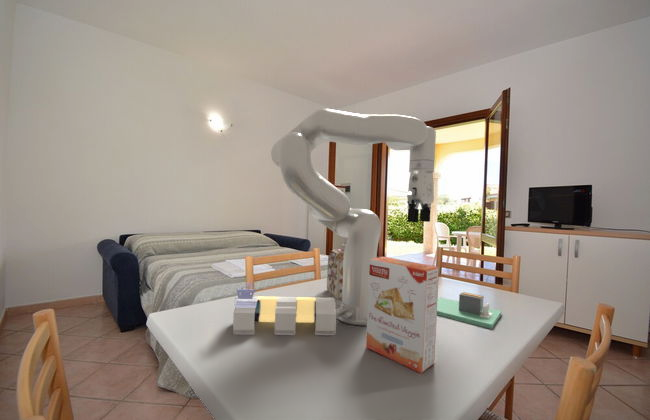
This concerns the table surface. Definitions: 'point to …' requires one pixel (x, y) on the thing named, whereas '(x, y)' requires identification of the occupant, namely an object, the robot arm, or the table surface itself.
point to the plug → (471, 303)
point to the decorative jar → (335, 272)
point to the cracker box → (403, 311)
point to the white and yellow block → (283, 313)
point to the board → (452, 311)
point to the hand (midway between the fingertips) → (419, 221)
